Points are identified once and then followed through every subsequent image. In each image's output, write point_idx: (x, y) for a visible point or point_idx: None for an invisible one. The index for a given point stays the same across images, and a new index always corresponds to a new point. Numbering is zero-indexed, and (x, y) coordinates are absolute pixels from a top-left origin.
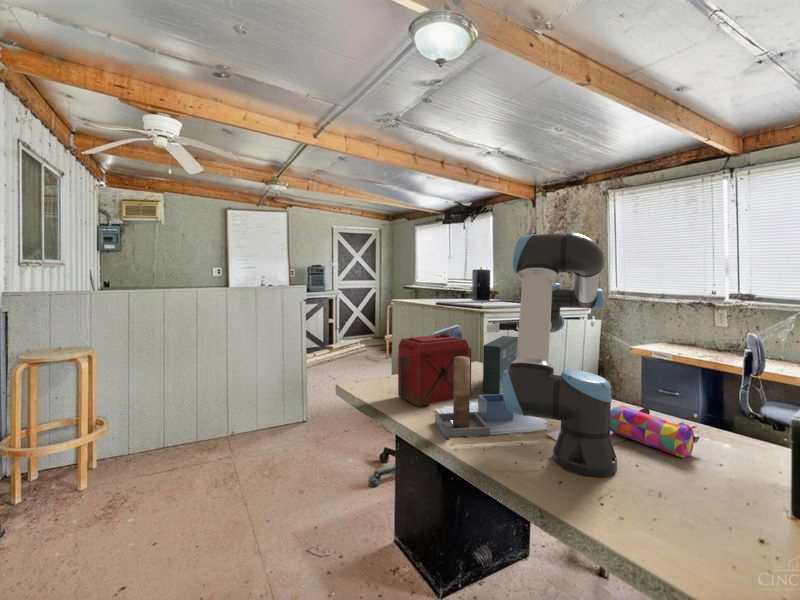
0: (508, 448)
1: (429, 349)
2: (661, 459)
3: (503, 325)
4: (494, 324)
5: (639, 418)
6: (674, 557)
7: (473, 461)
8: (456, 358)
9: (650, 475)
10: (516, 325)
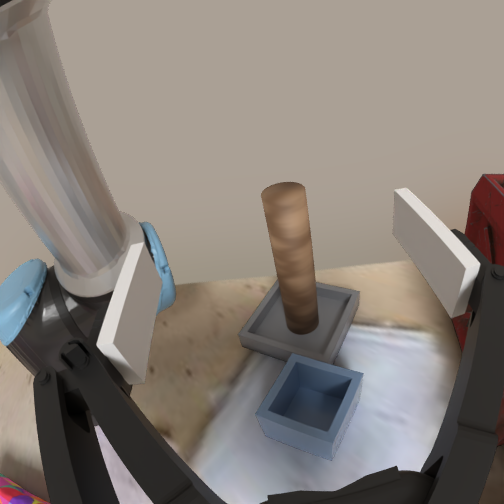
0: (194, 344)
1: (490, 206)
2: (21, 468)
3: (476, 325)
4: (428, 227)
5: (10, 493)
6: None
7: (207, 287)
8: (285, 184)
9: (32, 413)
10: (439, 457)
